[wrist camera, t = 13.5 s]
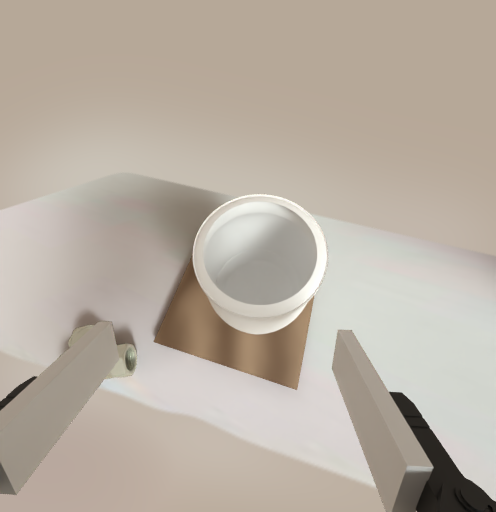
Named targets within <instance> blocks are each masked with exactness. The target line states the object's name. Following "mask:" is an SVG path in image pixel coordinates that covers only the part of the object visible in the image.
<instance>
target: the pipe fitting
mask: <svg viewBox="0 0 496 512" xmlns="http://www.w3.org/2000/svg"><path fill="white" fill-rule="evenodd" d="M93 326H94V325H87V326H84V327H80V328H79V327H78V328H76V329H75V330H74V331H73V334H72V336H71V337H70V339H69V342H68V345H69V347H71V346H72V345H73V344H74V343H76V342H77V341H78V340H79V339H80V338H81V337H82V336H83V335H84V334H85V333H87V332H88V331H89V330H90V329H91V328H92V327H93ZM117 350H118V355H119V361H118V362H117V363H116V365H115V366H114V367H113V369H112V370H111V371H110V372H109V374H108V375H107V376H106V378H105V379H109V378H114V377H116V378H122V377H127V376H132V375H133V373H134V371H135V369H136V365H137V353H136V350H135V347H134V346H133V345H131V344H127V343H126V344H121V345H117Z"/></svg>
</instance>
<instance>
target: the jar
mask: <svg viewBox="0 0 496 512" xmlns="http://www.w3.org/2000/svg"><path fill="white" fill-rule="evenodd" d="M193 266H194V271H195V274H196V277H197V280H198V282H199V284H200V286H201V288H202V290H203V291H204V293H205V294H206V295H207V297H208V299H209V301H210V303H211V305H212V307H213V309H214V310H215V312H216V313H217V314H218V315H219V316H220V317H221V319H223V320H224V321H225V322H226V323H227V324H229V325H230V326H232V327H233V328H235V329H237V330H239V331H242V332H245V333H249V334H267V333H271V332H275V331H277V330H280V329H282V328H284V327H285V326H287V325H288V324H290V323H291V322H292V321H293V320H295V319H296V318H297V317H298V316H299V314H300V313H301V312H302V311H303V309H304V308H305V306H306V304H307V303H308V301H309V300H310V299H311V298H312V297H313V296H314V295H315V293H316V292H317V290H318V289H319V287H320V285H321V283H322V281H323V279H324V277H325V274H326V270H327V266H328V247H327V242H326V239H325V236H324V234H323V231H322V230H321V228H320V226H319V224H318V223H317V222H316V220H315V219H314V218H313V217H312V216H311V215H310V214H309V213H308V212H307V211H306V210H305V209H303V208H302V207H300V206H299V205H297V204H296V203H294V202H292V201H290V200H287V199H285V198H281V197H278V196H273V195H265V194H256V195H248V196H242V197H239V198H236V199H233V200H231V201H228V202H226V203H225V204H223V205H221V206H220V207H218V208H217V209H216V210H214V211H213V212H212V213H211V214H210V215H209V216H208V217H207V218H206V220H205V221H204V222H203V224H202V225H201V227H200V229H199V231H198V233H197V235H196V238H195V241H194V245H193Z"/></svg>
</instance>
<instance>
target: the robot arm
mask: <svg viewBox="0 0 496 512" xmlns="http://www.w3.org/2000/svg"><path fill="white" fill-rule="evenodd" d="M118 361H119V355H118V350H117V345H116V340H115V335H114V330H113V325H112V322H109V321H99V322H98V323H96V324H95V325H94V326H93V327H92V328H91V329H90V330H89V331H88V332H87V333H85V334H84V335H83V336H82V337H81V338H80V339H79V340H78V341H77V342H76V343H74V344H73V345H72V346H71V347H70V348H69V349H68V350H67V351H66V352H65V353H63V354H62V355H61V356H60V357H59V358H58V359H57V360H56V361H55V362H54V363H52V364H51V365H50V366H49V367H48V368H47V369H46V370H45V371H44V372H43V373H41V374H40V375H39V376H38V377H35V376H34V377H32V378H30V379H29V380H27V381H25V382H24V383H22V384H20V385H19V386H18V387H16V388H15V389H14V390H13V391H12V392H11V393H10V394H8V395H7V397H6V398H5V399H3V400H2V401H0V494H13V495H17V493H18V492H19V491H20V490H21V488H22V487H23V486H24V484H25V483H26V482H27V480H28V479H29V478H30V476H31V475H32V474H33V472H34V471H35V470H36V468H37V467H38V466H39V464H40V463H41V462H42V461H43V459H44V458H45V457H46V455H47V454H48V453H49V451H50V450H51V449H52V447H53V446H54V445H55V443H56V442H57V441H58V440H59V438H60V437H61V436H62V434H63V433H64V432H65V430H66V429H67V428H68V426H69V425H70V424H71V422H72V421H73V420H74V419H75V417H76V416H77V415H78V413H79V412H80V411H81V409H82V408H83V407H84V405H85V404H86V403H87V401H88V400H89V399H90V397H91V396H92V395H93V394H94V392H95V391H96V390H97V388H98V387H99V386H100V384H101V383H102V382H103V380H104V379H105V378H106V376H107V375H108V374H109V372H110V371H111V370H112V369H113V367H114V366H115V365H116V363H117V362H118ZM332 370H333V373H334V375H335V378H336V381H337V383H338V386H339V389H340V391H341V394H342V397H343V399H344V402H345V405H346V407H347V410H348V412H349V415H350V418H351V420H352V423H353V426H354V428H355V431H356V434H357V436H358V439H359V442H360V444H361V447H362V450H363V452H364V455H365V458H366V460H367V463H368V465H369V468H370V471H371V473H372V476H373V479H374V481H375V484H376V487H377V489H378V492H379V495H380V497H381V500H382V503H383V505H384V508H385V511H386V512H416V511H417V512H496V502H495V501H493V500H492V499H491V498H490V497H489V496H488V495H487V494H486V493H485V492H484V491H483V490H482V489H481V488H480V487H479V486H477V485H476V484H475V483H473V482H472V481H470V480H468V479H466V478H464V476H463V475H462V474H461V472H460V471H459V470H458V468H457V467H456V465H455V464H454V462H453V461H452V459H451V458H450V456H449V455H448V453H447V452H446V450H445V449H444V448H443V446H442V445H441V443H440V442H439V440H438V439H437V437H436V436H435V434H434V433H433V431H432V430H431V429H430V428H429V425H428V424H427V422H426V421H425V420H424V419H423V418H422V415H421V414H420V412H419V411H418V409H417V408H416V406H415V405H414V403H413V402H411V401H410V400H409V399H408V398H407V397H406V396H405V395H404V394H403V393H400V392H388V390H387V388H386V387H385V385H384V383H383V382H382V380H381V378H380V377H379V375H378V373H377V372H376V370H375V368H374V367H373V365H372V363H371V362H370V360H369V358H368V357H367V355H366V353H365V352H364V350H363V348H362V347H361V345H360V343H359V342H358V340H357V338H356V337H355V335H354V333H353V332H352V330H338V332H337V339H336V345H335V351H334V358H333V364H332Z"/></svg>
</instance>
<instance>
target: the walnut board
mask: <svg viewBox="0 0 496 512" xmlns="http://www.w3.org/2000/svg"><path fill="white" fill-rule="evenodd" d="M313 300H314V296H313V297H312V298H311V299H310V300H309V301H308V303H307V304H306V306H305V308H304V309H303V311H302V312H301V313H300V314H299V316H298V317H297V318H296V319H295V320H293V321H292V322H291V323H290V324H288V325H287V326H285V327H284V328H282V329H280V330H277V331H275V332H271V333H267V334H249V333H245V332H242V331H239V330H237V329H235V328H233V327H232V326H230V325H229V324H227V323H226V322H225V321H224V320H223V319H221V317H220V316H219V315H218V314H217V313H216V312H215V310H214V309H213V307H212V305H211V303H210V301H209V299H208V297H207V295H206V294H205V293H204V291H203V290H202V288H201V286H200V284H199V282H198V280H197V277H196V274H195V271H194V266H193V255H192V257H191V259H190V262H189V264H188V266H187V268H186V271H185V273H184V275H183V277H182V279H181V282H180V284H179V286H178V288H177V291H176V293H175V295H174V297H173V300H172V302H171V304H170V306H169V309H168V311H167V313H166V315H165V317H164V320H163V322H162V324H161V326H160V329H159V331H158V333H157V335H156V338H155V340H154V342H155V343H158V344H161V345H164V346H167V347H170V348H173V349H176V350H179V351H182V352H185V353H188V354H191V355H194V356H197V357H200V358H203V359H206V360H209V361H212V362H215V363H218V364H221V365H224V366H227V367H230V368H233V369H236V370H239V371H242V372H245V373H248V374H251V375H254V376H257V377H260V378H263V379H266V380H269V381H272V382H275V383H278V384H281V385H284V386H287V387H290V388H293V389H296V390H297V387H298V382H299V376H300V371H301V365H302V360H303V354H304V349H305V344H306V338H307V333H308V327H309V322H310V316H311V311H312V305H313Z"/></svg>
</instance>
